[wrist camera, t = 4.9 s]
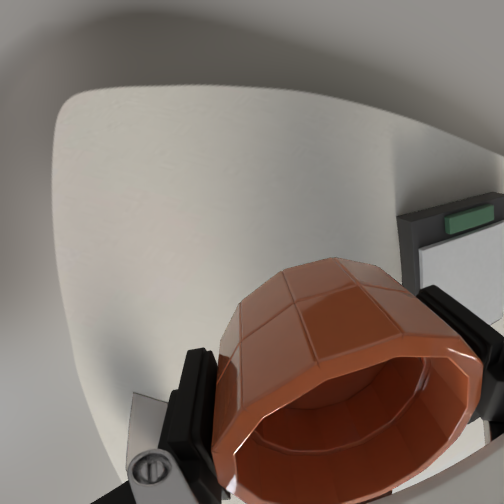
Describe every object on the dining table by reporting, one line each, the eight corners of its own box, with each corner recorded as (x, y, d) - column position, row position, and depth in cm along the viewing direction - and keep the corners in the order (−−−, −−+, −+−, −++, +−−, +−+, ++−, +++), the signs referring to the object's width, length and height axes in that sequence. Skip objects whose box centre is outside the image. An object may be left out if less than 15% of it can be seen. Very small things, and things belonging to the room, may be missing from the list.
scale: (396, 216, 23) (415, 223, 20) (492, 191, 23) (513, 195, 20) (402, 350, 27) (417, 368, 24) (489, 310, 26) (505, 321, 23)
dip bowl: (193, 282, 9) (157, 391, 5) (400, 230, 9) (507, 286, 4) (247, 424, 11) (252, 525, 6) (402, 381, 11) (454, 462, 6)
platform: (125, 470, 31) (116, 504, 25) (133, 392, 27) (115, 437, 20) (207, 490, 32) (205, 526, 26) (244, 421, 28) (246, 469, 22)
